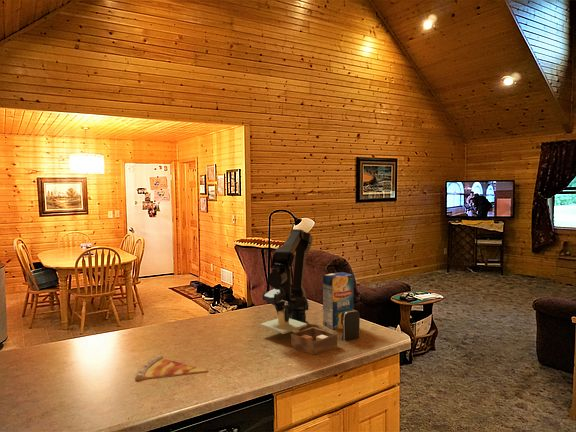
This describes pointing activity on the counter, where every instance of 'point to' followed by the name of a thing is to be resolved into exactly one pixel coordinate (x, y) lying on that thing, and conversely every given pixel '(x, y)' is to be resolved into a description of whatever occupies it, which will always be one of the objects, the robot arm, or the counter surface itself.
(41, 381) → the counter surface
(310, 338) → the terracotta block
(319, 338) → the cream block
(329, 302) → the beverage box
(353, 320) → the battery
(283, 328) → the lid
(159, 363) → the pizza slice
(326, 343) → the box
